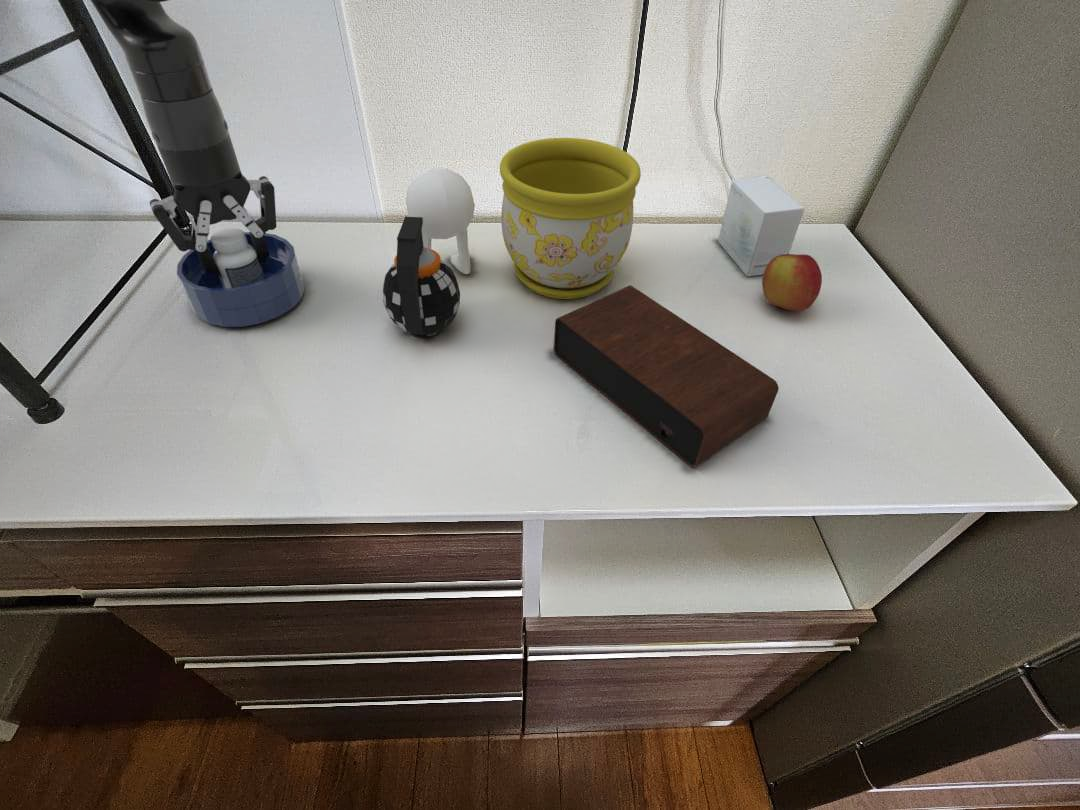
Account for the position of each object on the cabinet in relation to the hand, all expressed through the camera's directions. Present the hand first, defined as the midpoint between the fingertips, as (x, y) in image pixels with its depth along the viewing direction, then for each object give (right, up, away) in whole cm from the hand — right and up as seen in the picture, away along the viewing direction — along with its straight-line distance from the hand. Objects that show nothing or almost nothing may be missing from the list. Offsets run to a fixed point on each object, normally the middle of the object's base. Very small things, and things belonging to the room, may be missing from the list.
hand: (238, 266), depth 81 cm
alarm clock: (+53, -16, -7) cm, 55 cm away
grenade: (+24, -9, 0) cm, 26 cm away
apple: (+73, -4, +6) cm, 73 cm away
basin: (0, -4, +4) cm, 5 cm away
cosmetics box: (+71, +5, +15) cm, 73 cm away
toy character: (+26, +1, +10) cm, 27 cm away
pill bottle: (0, -3, +3) cm, 5 cm away
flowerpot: (+43, +1, +10) cm, 44 cm away
